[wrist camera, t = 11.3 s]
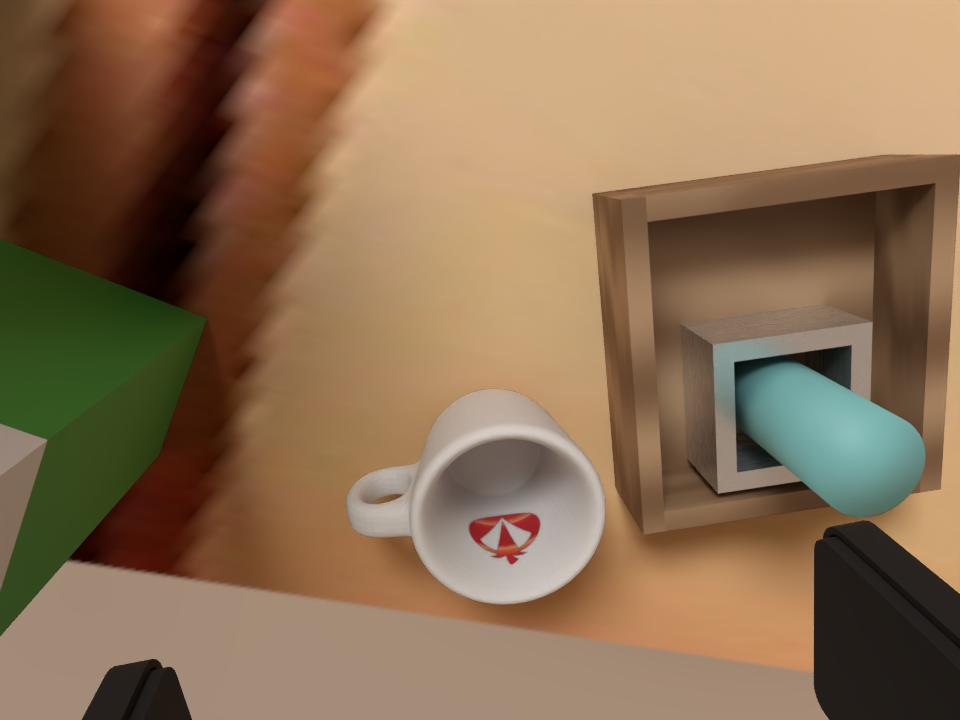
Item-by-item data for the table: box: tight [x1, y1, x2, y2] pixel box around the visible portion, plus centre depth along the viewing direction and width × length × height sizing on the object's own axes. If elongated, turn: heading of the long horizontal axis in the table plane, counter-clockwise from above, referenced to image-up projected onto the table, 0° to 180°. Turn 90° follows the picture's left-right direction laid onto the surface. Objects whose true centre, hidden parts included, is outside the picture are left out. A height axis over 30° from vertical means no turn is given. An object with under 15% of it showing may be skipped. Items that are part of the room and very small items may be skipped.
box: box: [593, 155, 960, 535], centre depth 33 cm, size 15×14×5 cm
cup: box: [346, 389, 606, 605], centre depth 33 cm, size 11×8×8 cm
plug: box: [734, 355, 925, 517], centre depth 31 cm, size 4×4×10 cm
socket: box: [680, 304, 873, 494], centre depth 34 cm, size 7×7×4 cm
